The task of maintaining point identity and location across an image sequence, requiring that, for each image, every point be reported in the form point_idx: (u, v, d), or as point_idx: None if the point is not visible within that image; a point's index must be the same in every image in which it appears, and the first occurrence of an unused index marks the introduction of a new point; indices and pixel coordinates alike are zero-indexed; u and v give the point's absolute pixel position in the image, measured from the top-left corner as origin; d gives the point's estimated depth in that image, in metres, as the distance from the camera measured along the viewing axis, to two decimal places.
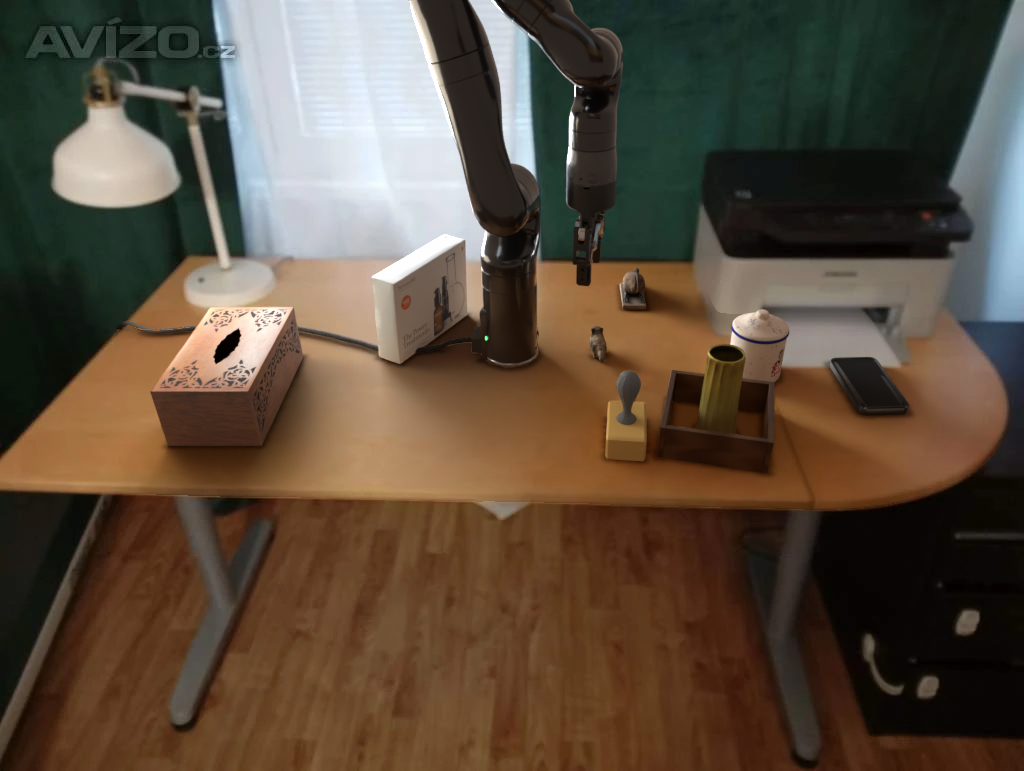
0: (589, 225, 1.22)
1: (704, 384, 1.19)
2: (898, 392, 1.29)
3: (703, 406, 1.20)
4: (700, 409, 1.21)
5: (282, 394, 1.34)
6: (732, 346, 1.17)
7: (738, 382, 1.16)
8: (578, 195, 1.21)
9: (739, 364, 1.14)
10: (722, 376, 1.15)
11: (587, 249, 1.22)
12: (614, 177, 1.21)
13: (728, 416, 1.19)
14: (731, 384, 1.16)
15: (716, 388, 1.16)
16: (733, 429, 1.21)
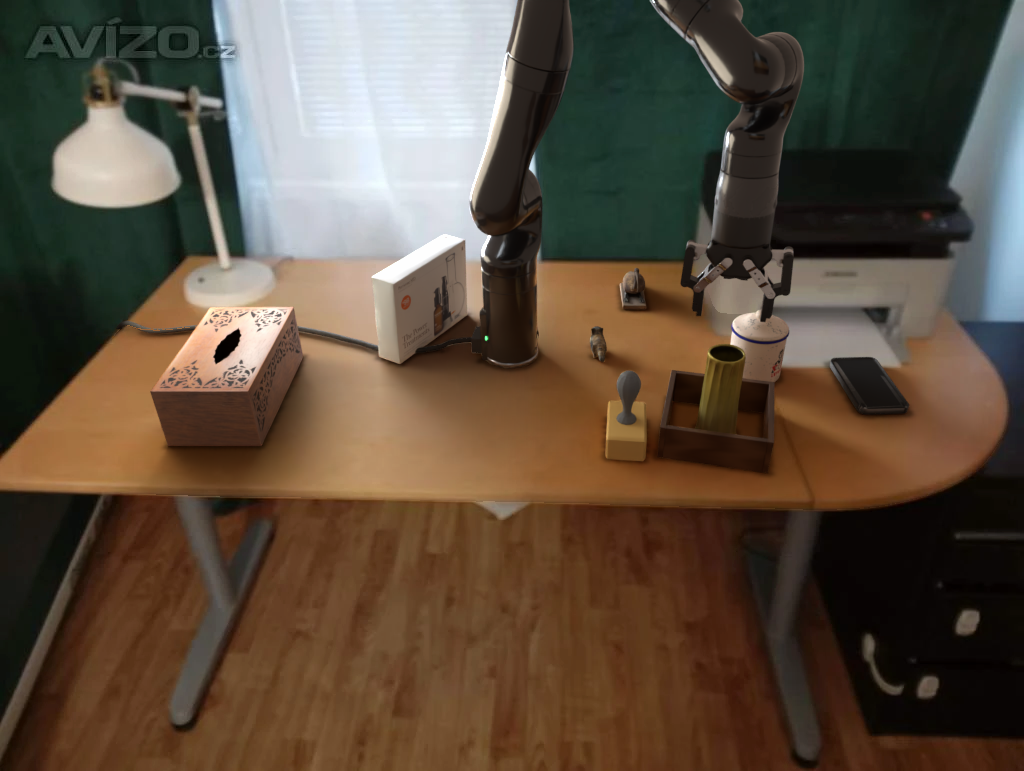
0: (706, 249, 1.08)
1: (704, 384, 1.19)
2: (898, 392, 1.29)
3: (703, 406, 1.20)
4: (700, 409, 1.21)
5: (282, 394, 1.34)
6: (732, 346, 1.17)
7: (738, 382, 1.16)
8: None
9: (739, 364, 1.14)
10: (722, 376, 1.15)
11: None
12: (736, 212, 1.01)
13: (728, 416, 1.19)
14: (731, 384, 1.16)
15: (716, 388, 1.16)
16: (733, 429, 1.21)
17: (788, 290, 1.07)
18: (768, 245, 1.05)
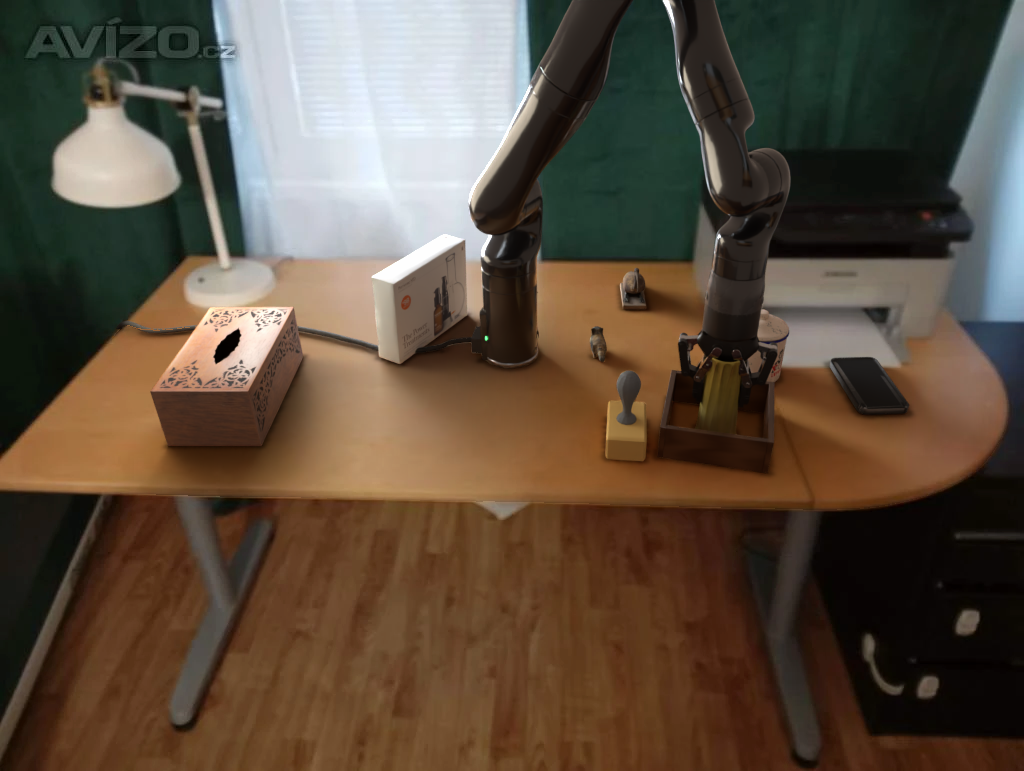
0: (697, 338, 1.15)
1: (704, 384, 1.19)
2: (898, 392, 1.29)
3: (703, 406, 1.20)
4: (700, 409, 1.21)
5: (282, 394, 1.34)
6: None
7: (738, 382, 1.16)
8: None
9: None
10: (722, 376, 1.15)
11: None
12: (725, 310, 1.08)
13: (728, 416, 1.19)
14: (731, 384, 1.16)
15: (716, 388, 1.16)
16: (733, 429, 1.21)
17: (764, 381, 1.15)
18: (755, 337, 1.12)
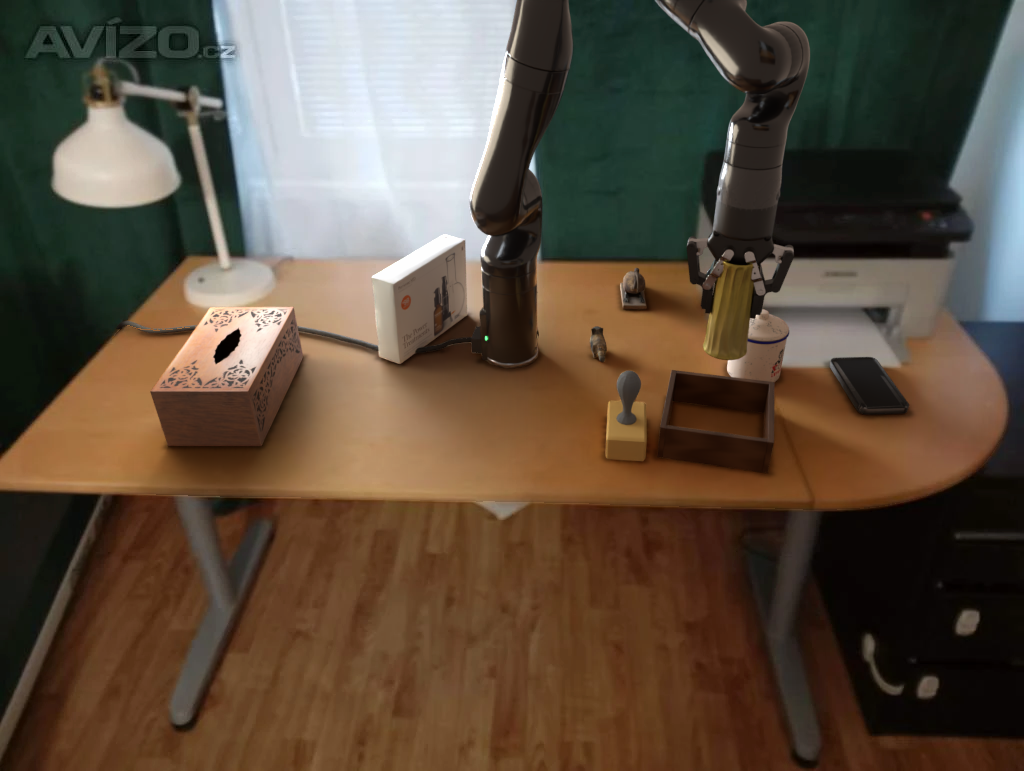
0: (707, 241, 1.07)
1: (714, 293, 1.11)
2: (898, 392, 1.29)
3: (713, 317, 1.12)
4: (709, 322, 1.13)
5: (282, 394, 1.34)
6: None
7: (751, 289, 1.08)
8: None
9: None
10: (734, 282, 1.07)
11: (688, 264, 1.09)
12: (738, 204, 1.00)
13: (739, 328, 1.11)
14: (743, 291, 1.08)
15: (727, 296, 1.09)
16: (744, 343, 1.13)
17: (778, 287, 1.07)
18: (770, 237, 1.04)
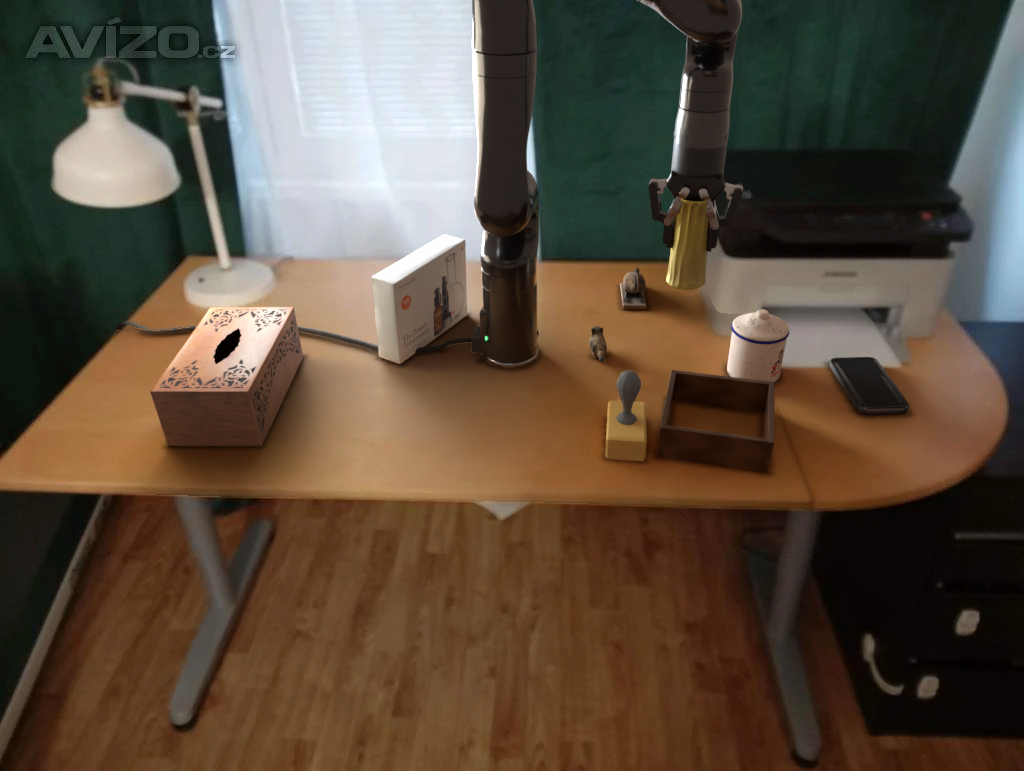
0: (667, 180, 1.21)
1: (674, 228, 1.24)
2: (898, 392, 1.29)
3: (673, 251, 1.25)
4: (671, 255, 1.27)
5: (282, 394, 1.34)
6: None
7: (706, 224, 1.22)
8: None
9: None
10: (691, 216, 1.21)
11: None
12: (691, 144, 1.14)
13: (697, 259, 1.24)
14: (699, 225, 1.21)
15: (685, 230, 1.22)
16: (701, 274, 1.27)
17: (730, 221, 1.21)
18: (721, 176, 1.18)
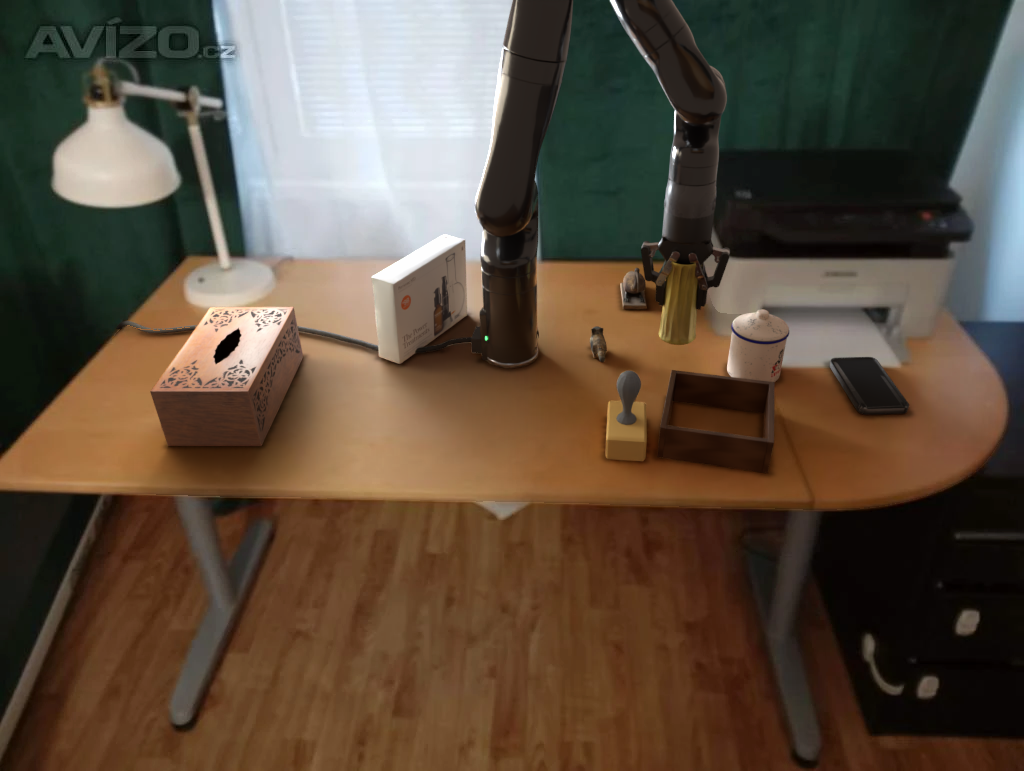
0: (658, 244, 1.28)
1: (665, 288, 1.32)
2: (898, 392, 1.29)
3: (665, 309, 1.33)
4: (662, 312, 1.34)
5: (282, 394, 1.34)
6: None
7: (695, 284, 1.29)
8: None
9: None
10: (681, 278, 1.28)
11: (643, 265, 1.30)
12: (680, 214, 1.21)
13: (687, 317, 1.32)
14: (689, 286, 1.29)
15: (676, 290, 1.30)
16: (692, 330, 1.34)
17: (718, 283, 1.28)
18: (709, 241, 1.25)
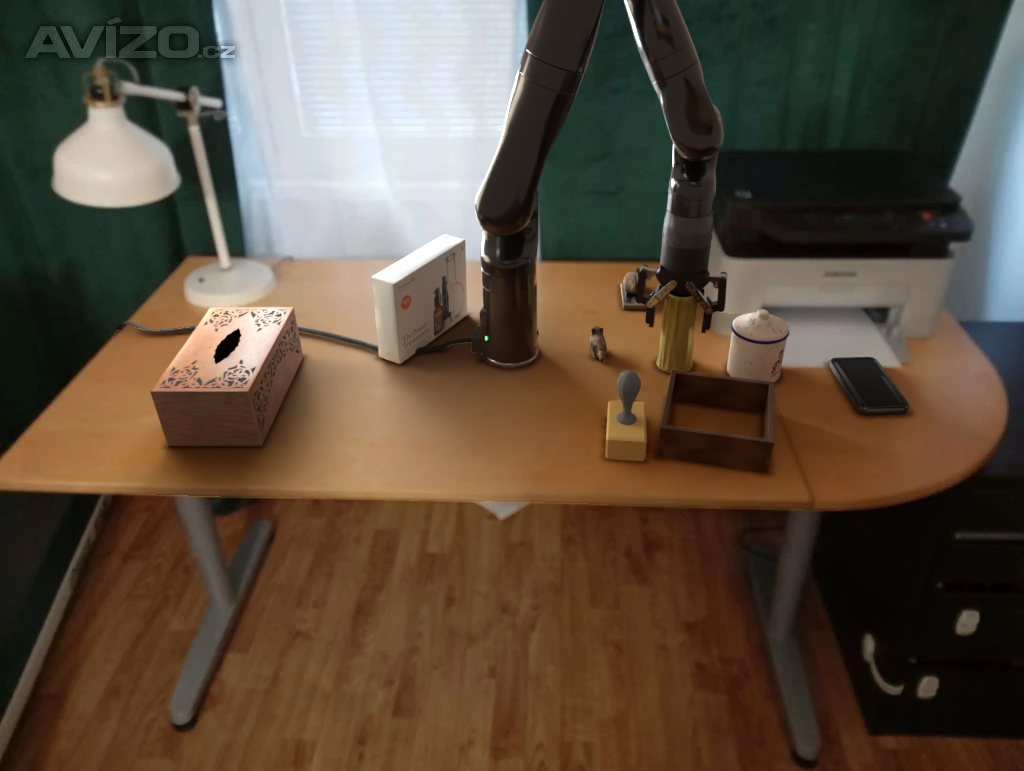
0: (656, 273, 1.31)
1: (663, 319, 1.35)
2: (898, 392, 1.29)
3: (662, 339, 1.36)
4: (660, 342, 1.37)
5: (282, 394, 1.34)
6: None
7: (692, 316, 1.32)
8: None
9: (693, 300, 1.31)
10: (678, 310, 1.31)
11: (637, 286, 1.33)
12: (678, 244, 1.24)
13: (684, 347, 1.35)
14: (686, 318, 1.32)
15: (673, 321, 1.33)
16: (689, 360, 1.37)
17: (723, 307, 1.30)
18: (706, 270, 1.28)
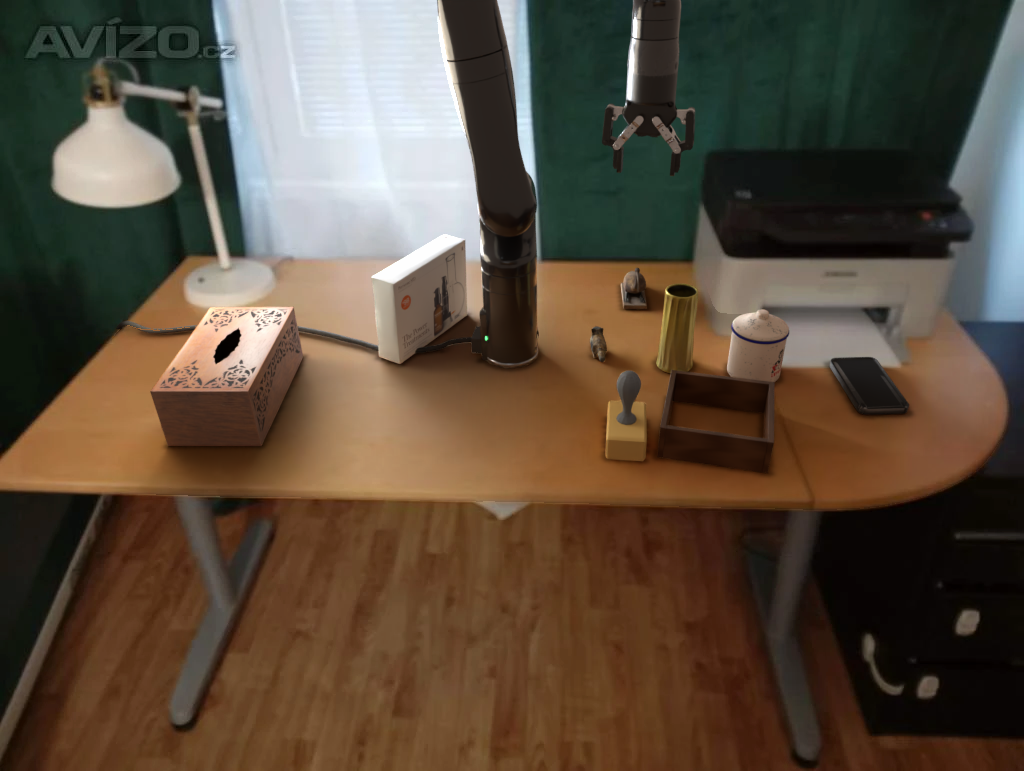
0: (622, 110, 1.27)
1: (663, 319, 1.35)
2: (898, 392, 1.29)
3: (662, 339, 1.36)
4: (660, 342, 1.37)
5: (282, 394, 1.34)
6: (687, 285, 1.34)
7: (692, 316, 1.32)
8: None
9: (692, 300, 1.31)
10: (678, 310, 1.31)
11: (603, 126, 1.29)
12: (643, 72, 1.21)
13: (684, 347, 1.35)
14: (686, 318, 1.32)
15: (673, 321, 1.33)
16: (689, 360, 1.37)
17: (691, 145, 1.27)
18: (673, 104, 1.25)
